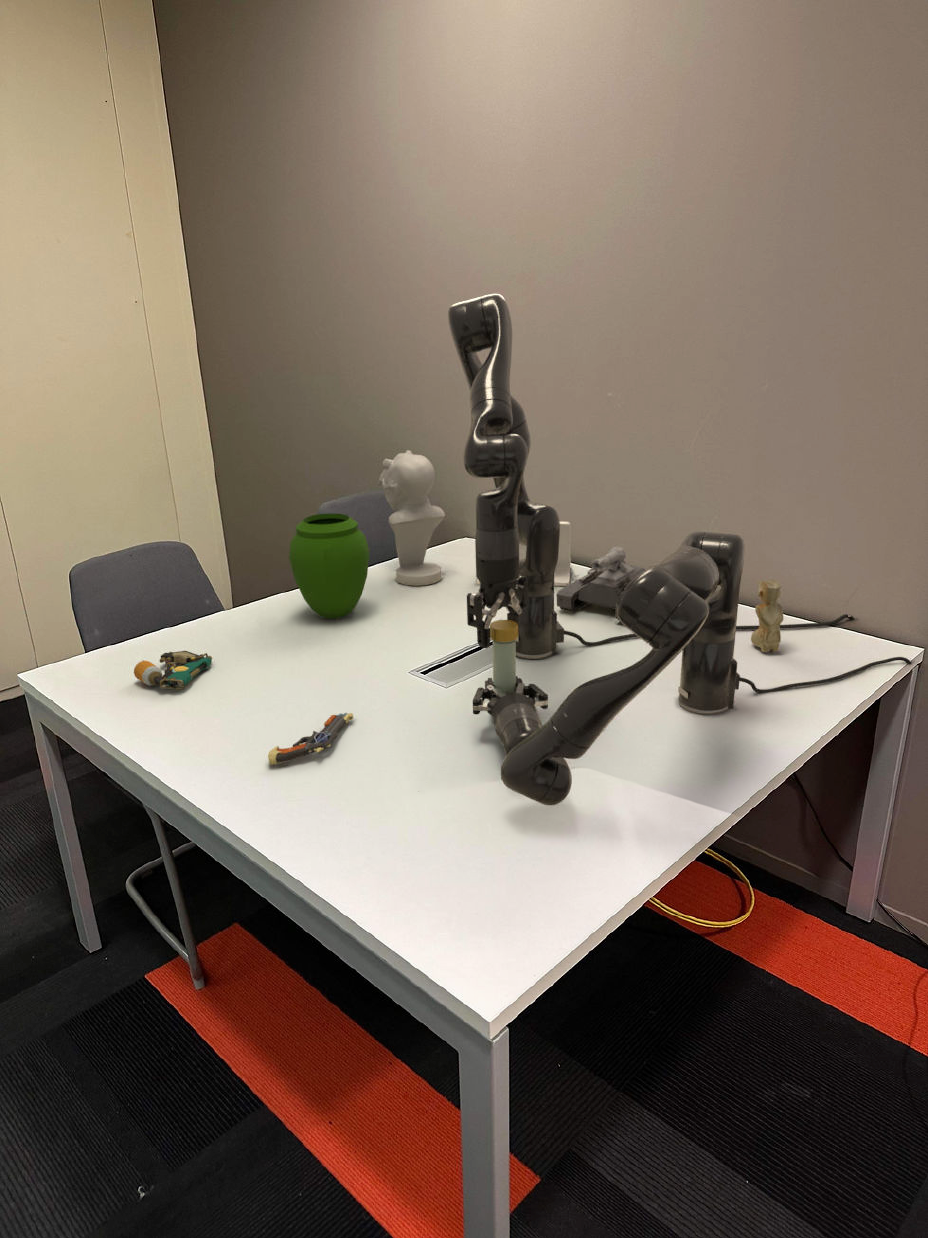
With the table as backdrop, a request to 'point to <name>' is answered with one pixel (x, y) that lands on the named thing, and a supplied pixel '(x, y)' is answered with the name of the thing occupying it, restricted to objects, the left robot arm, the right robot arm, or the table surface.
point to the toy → (599, 583)
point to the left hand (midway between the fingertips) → (498, 639)
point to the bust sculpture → (412, 515)
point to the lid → (503, 630)
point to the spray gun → (172, 669)
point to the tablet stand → (563, 556)
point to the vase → (329, 563)
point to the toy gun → (312, 740)
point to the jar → (504, 666)
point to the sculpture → (768, 617)
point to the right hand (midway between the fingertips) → (502, 681)
